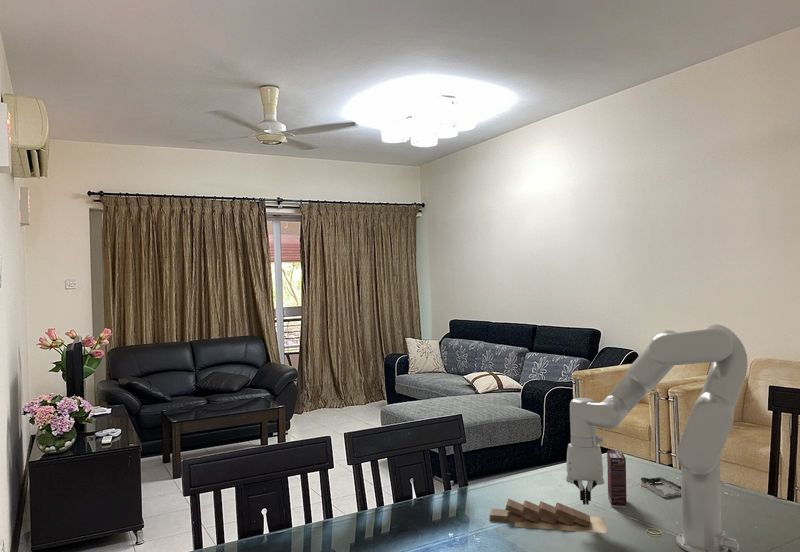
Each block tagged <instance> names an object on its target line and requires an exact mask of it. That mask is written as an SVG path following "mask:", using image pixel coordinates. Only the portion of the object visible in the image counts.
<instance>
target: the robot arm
mask: <svg viewBox="0 0 800 552" xmlns="http://www.w3.org/2000/svg"><path fill="white" fill-rule="evenodd" d="M695 364H696V365H697V364H710V367H709V370H708V372H707V375H706V379H705V382H704V384H703V386H702V390H701V392H700V394H699V396H698V398H697V399H696V400H695V402H694V405H693V407H692V409H691V412H690V415H689V418H688V421H687V423H686V426H685V428H684V430H683V433H682V436H681V437H680V440H679V444H678V445H677V450H676V456H677V460H678V462H679V464H680V486H681V492H680V493H681V495H680V496H681V524H682V525H681V526H682V528H681V531H682V532H681V533H679V534H678V535H677V536H676V541H675V542H676V545H677V546H679V547H680V548H681V549H683V550H684V551H686V552H729V549H730V550H733V551H737V552H738V551H739V550H740V544H739V542H737V541H738V540H737V539H735V538H729V537H728V536H727V535H726V531H725V530H723V529H722V503H721V499H722V498H721V491H722V489H721V455H722V453H723V450H724V448H725V445H726V443H727V440H728V438H729V435H730V432H731V430H732V427H733V424H734V418H735V408H736V406H737V402H738V400H739V397H740V395H741V392H742V390H743V386H744V382H745V379H746V377H747V372H748V354H747V351H746V348H745V346H744V344H743V343H742V341H741V339H740V338H739V337H738V336H737V335H736V334H735V332H734V331H733V330H731V329H730V328H728V327H726V326H724V325H721V324H711V325H707V326H706V327H705V328H703V329H699V330H698V329H697V330H691V331H690V330H689V331H681V332H680V331H679V332H677V331H674V330H663V331H660V332H659V333H657V335H655V336H654V337H653V338H652V340H650V342H649V344H648V345H647V346H646V347H645V348H644V349H643V351H642V352H641V353H640V354H639V355H638V356H637V358H636V359H635V360H634V361H633V362H632V364H631V365H630V366H629V367H628V368H627V369H626V371H625V374H624V376H623V378H622V379H621V380H620V381H619V382H618V383H617V385H616V386H615V387H614V388H613V389H612V391H611V392H610V393H609V394H608V395H607V396H606V397H605V398H604V399H603V400H602V401H601V402H596V401H595V400H594V399H592V398H588V397H576V398H572V399H571V400H570V403H569V423H570V425H569V426H570V427H569V428H570V443H568V444H567V451H566V473H567V474H566V480H565V481H566V483H569V484H573V485H574V486H575V487H577V488H578V490H579V500H580V501H582V505H589V503H590V502H591V501H592V494H591V493H592V490H593V489H595V487H596V486H601V485H604V484H605V479H604V466H603V465H604V464H603V457H602V456H603V454H602V450H601V449H602V448H601V445H600V443H603V437H599V435H598V428H601V429H605V430H612V429H613V430H614V429H616V428H618V426H619V425H620V424H621V423H622V422H623V421H624V419H625V418H626V417H627V416H628V415H629V413H630V412H631V411H632V410H633V409H634V408H635V407H636V406H637V405H638V403H639V402H640V401H641V400H642V399H643V398H644V397H645V396H646V395H647V394H648V393H650V392H652V391H653V390H654V389H655V388H656V387H657V386H658V385H659V383H661V381H662V380H663V379H664V378H665V377H666V375H667V374H668V373H669V372H670V371H671V370H672V369H673V368H674V367H675V366H684V365H695ZM583 481H585V482H586V486H584V484H583Z"/></svg>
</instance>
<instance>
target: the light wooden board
mask: <svg viewBox="0 0 800 552" xmlns="http://www.w3.org/2000/svg"><path fill="white" fill-rule="evenodd" d="M590 521H591V523H590V526H589V527H587V526H584V525H582V524H579V523H577V522H574V521H573V524H572V526H570V525H568V524H565V523H563V522H560V521H558V520H557V521H556V524H555V525H554V524H552V523H549V522H547V521H545V520H542V519H540V518H539V521H538V523H536V522H534V521H531V520H529V519H527V518H524V522H523V523H522V522H514V527H518V528H529V529H530V528H531V529H545V530H557V531H558V530H559V531H571V532H572V531H573V532H584V533H585V532H586V533H596V534H597V533H598V534H601V533H602V534H608V529H607V528H608V527H607V524H606V520H605V517H600V516H590Z"/></svg>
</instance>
